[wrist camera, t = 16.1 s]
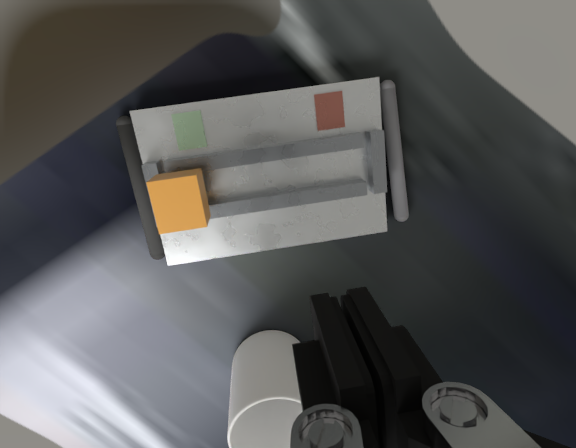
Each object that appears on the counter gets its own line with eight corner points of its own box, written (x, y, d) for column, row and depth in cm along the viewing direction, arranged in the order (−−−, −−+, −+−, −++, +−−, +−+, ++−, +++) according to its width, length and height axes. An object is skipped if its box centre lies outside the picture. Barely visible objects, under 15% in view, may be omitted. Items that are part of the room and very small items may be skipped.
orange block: (213, 206, 35) (207, 227, 29) (173, 212, 35) (159, 234, 29) (204, 162, 34) (196, 175, 28) (163, 168, 34) (146, 182, 28)
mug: (315, 297, 41) (335, 359, 32) (349, 353, 44) (378, 426, 34) (217, 350, 42) (208, 426, 32) (256, 402, 45) (258, 487, 35)
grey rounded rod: (406, 217, 39) (411, 221, 38) (392, 220, 39) (397, 224, 38) (391, 78, 35) (396, 77, 34) (376, 81, 35) (381, 81, 34)
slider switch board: (380, 225, 39) (392, 236, 36) (171, 257, 38) (164, 272, 35) (372, 78, 35) (385, 75, 32) (136, 110, 34) (123, 111, 31)
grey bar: (168, 255, 38) (165, 260, 37) (153, 257, 38) (150, 263, 37) (133, 114, 34) (128, 115, 33) (117, 116, 34) (111, 117, 33)
